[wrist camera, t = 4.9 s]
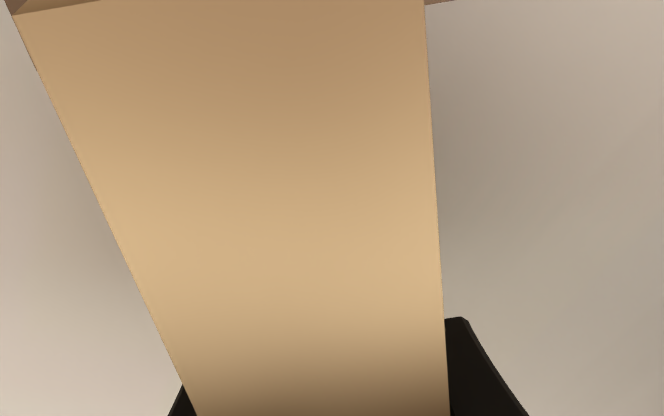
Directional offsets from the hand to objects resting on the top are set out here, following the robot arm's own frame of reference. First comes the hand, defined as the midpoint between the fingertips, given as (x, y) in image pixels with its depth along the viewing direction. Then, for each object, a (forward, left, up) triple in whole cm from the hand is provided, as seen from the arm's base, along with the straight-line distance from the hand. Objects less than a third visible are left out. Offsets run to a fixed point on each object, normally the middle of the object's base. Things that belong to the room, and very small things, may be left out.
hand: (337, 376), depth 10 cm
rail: (0, 0, -4) cm, 4 cm away
